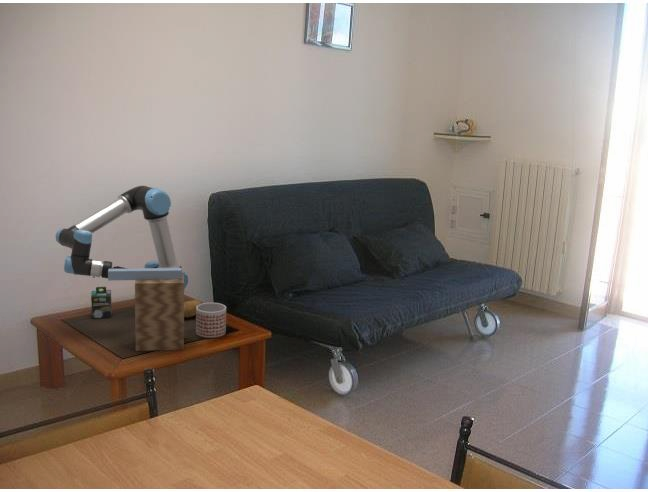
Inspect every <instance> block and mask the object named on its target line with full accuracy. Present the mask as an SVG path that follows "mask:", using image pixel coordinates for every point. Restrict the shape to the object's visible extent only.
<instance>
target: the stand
mask: <svg viewBox="0 0 648 492" xmlns="http://www.w3.org/2000/svg"><path fill="white" fill-rule="evenodd" d="M184 302H185V289H184V274H181V279H174V280H134V313H135V314H134V318H135V319H134V321H135V322H134V323H135V325H134V326H135V327H134V328H135V351H136V352H145V351H148V352H149V351H172V350H173V351H175V350H176V351H177V350H185V347H184V346H185V343H184V342H185V340H184V339H185V326H184V325H185V317H184Z"/></svg>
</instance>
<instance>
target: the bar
mask: <svg viewBox="0 0 648 492" xmlns="http://www.w3.org/2000/svg"><path fill="white" fill-rule="evenodd" d="M181 268H182V267H181ZM181 268H144V267H143V268H141V267H139V268H133V267H132V268H129V269H109V270H108V278H107V279H108V280H107V282H109V281H110V282H111V281H135V280H174V279H181Z"/></svg>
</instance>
